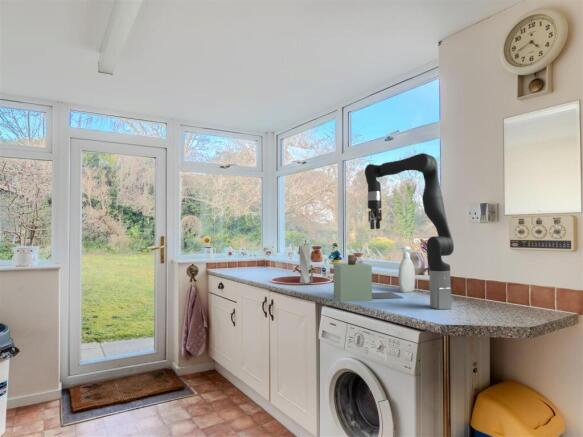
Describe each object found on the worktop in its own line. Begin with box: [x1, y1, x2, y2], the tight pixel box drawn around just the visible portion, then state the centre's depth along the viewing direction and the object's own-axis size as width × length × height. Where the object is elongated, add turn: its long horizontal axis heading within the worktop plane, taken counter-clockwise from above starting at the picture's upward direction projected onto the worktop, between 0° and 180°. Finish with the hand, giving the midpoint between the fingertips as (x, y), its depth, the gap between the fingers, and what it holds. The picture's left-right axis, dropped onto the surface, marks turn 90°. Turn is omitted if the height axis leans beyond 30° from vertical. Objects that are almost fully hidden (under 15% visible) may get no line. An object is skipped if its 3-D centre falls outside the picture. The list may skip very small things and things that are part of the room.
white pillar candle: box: [299, 242, 314, 285], centre depth 269 cm, size 8×8×28 cm
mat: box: [372, 291, 404, 300], centre depth 213 cm, size 17×17×1 cm
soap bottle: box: [397, 245, 416, 294], centre depth 227 cm, size 14×8×27 cm, turn 130°
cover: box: [333, 254, 373, 302], centre depth 207 cm, size 17×17×23 cm
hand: (375, 229), depth 214 cm, fingers open, 8 cm apart
